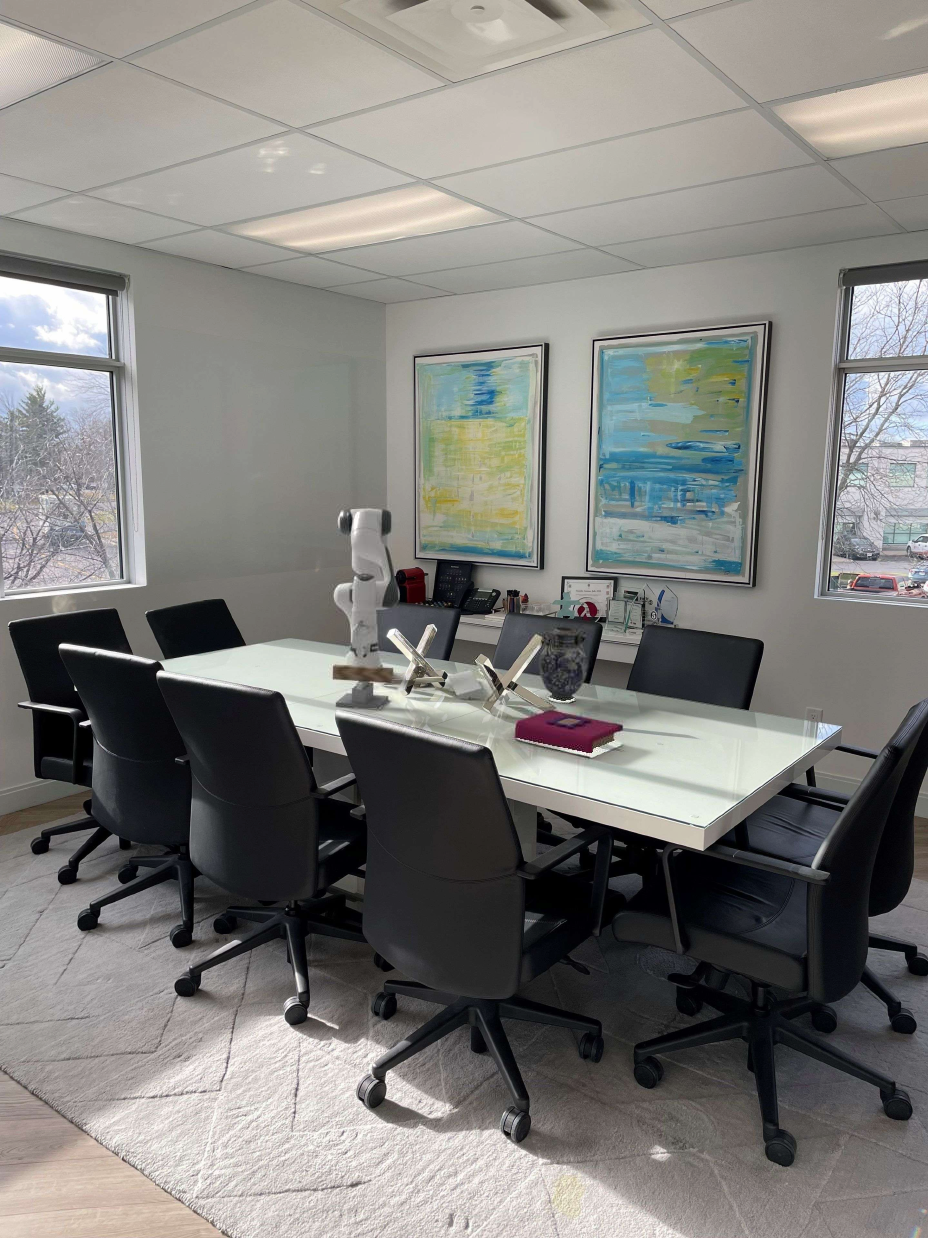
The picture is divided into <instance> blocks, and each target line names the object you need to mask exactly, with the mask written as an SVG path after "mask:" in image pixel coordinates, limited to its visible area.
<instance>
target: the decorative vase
mask: <svg viewBox="0 0 928 1238" xmlns="http://www.w3.org/2000/svg"><path fill="white" fill-rule="evenodd" d="M541 638H542V639H541V641H542V643H544V645H545V647H544V649H542V650H541V653H540V655H539V660H538V661H539V662H538V667H539V674H540V678H541V681H542V683H543V685H544V687H545V689H546V690H547V691H548V692H549V693H551V694H550V695H549V696H548V697H550V698H553V699H556V700H561V701H566V700H571V699H573V698H575V697H574V696H573V695H574V694H575V693H577V692H578V691H579V690H580V689H581V687H582V685H583V684H584V682H585V679H586V676H587V674H588V673H587V672H588V667H589V658H588V655H587V653H586V651H585V650H584V645H583V642H585V640H587V631H586V629H583V628H582V629H581V628H580V629H579V630H578V631H577V630H576V628H574V627H573V628H572V627H567V626H565V627H563V626H559V627H555V629H554V630H552V632H551V631H550V630H545V631H543V633H542V635H541Z"/></svg>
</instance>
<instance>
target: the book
mask: <svg viewBox="0 0 928 1238" xmlns="http://www.w3.org/2000/svg"><path fill="white" fill-rule="evenodd" d="M622 731H624V725H623V724H621V723H616V722H609V721H603V720H601V719H600V720H599V719H595V718H589V717H585V716H581V715H575V714H571V713H566V712H562V711H560V710H559V711H558V710H552V709H550V710H546V711H543V712H541V713H537V714H535V715H532V716H528V717H525V718H523V719H519V720H517V721H516V724H515V727H514V739H515V738H520V739H524V740H529V741H533V742H538V743H543V744H548V745H552V746H557V747H563V748H568V749H572V750H577V751H582V752H586V753H592V752H593V749H594V748H596V747H600V746H602V745H605V744H607V743H609V742H612V741H614V740H615V733H619V732H622Z"/></svg>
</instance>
